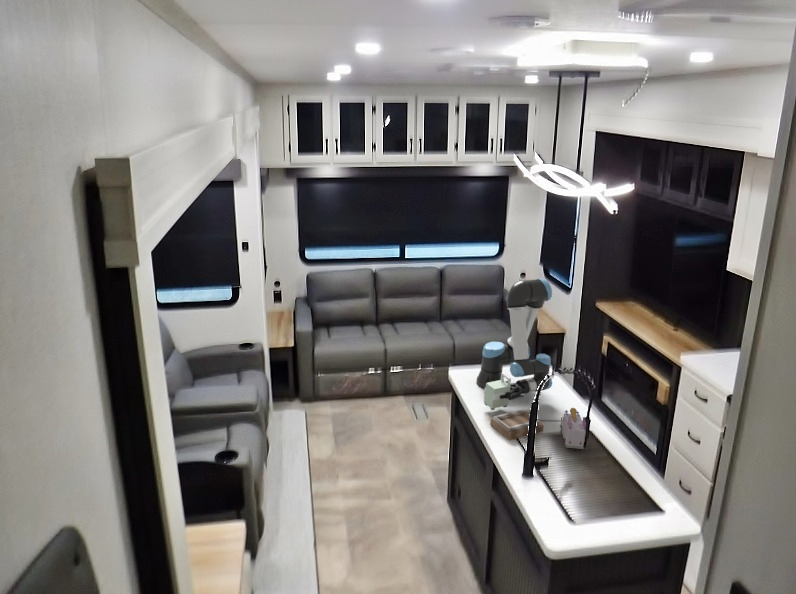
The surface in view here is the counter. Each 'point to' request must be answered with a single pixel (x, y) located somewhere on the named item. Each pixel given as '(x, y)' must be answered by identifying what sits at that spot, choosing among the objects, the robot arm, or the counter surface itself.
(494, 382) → the trolley
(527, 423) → the tray
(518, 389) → the robot arm
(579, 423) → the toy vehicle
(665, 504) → the counter surface
